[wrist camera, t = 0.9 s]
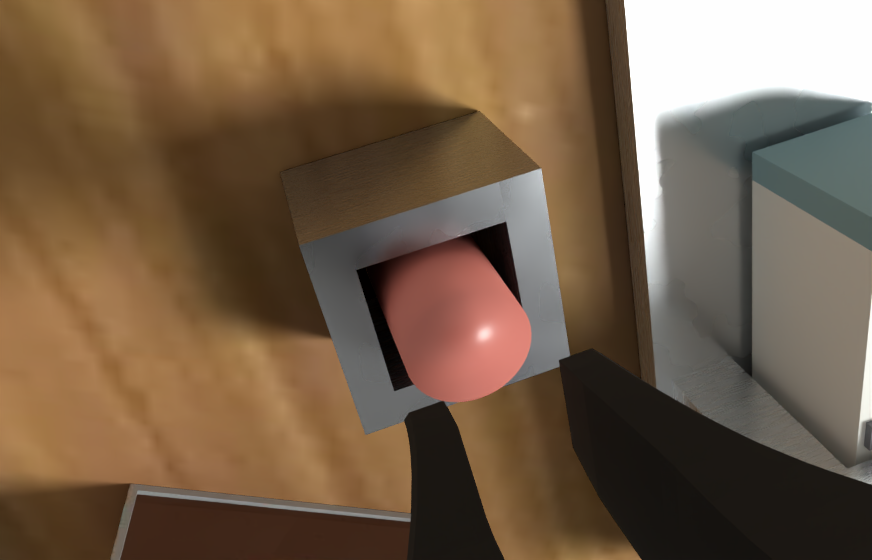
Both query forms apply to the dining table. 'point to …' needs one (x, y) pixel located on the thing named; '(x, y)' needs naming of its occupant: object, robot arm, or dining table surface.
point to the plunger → (452, 319)
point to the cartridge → (816, 283)
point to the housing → (721, 179)
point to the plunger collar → (422, 243)
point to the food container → (252, 528)
